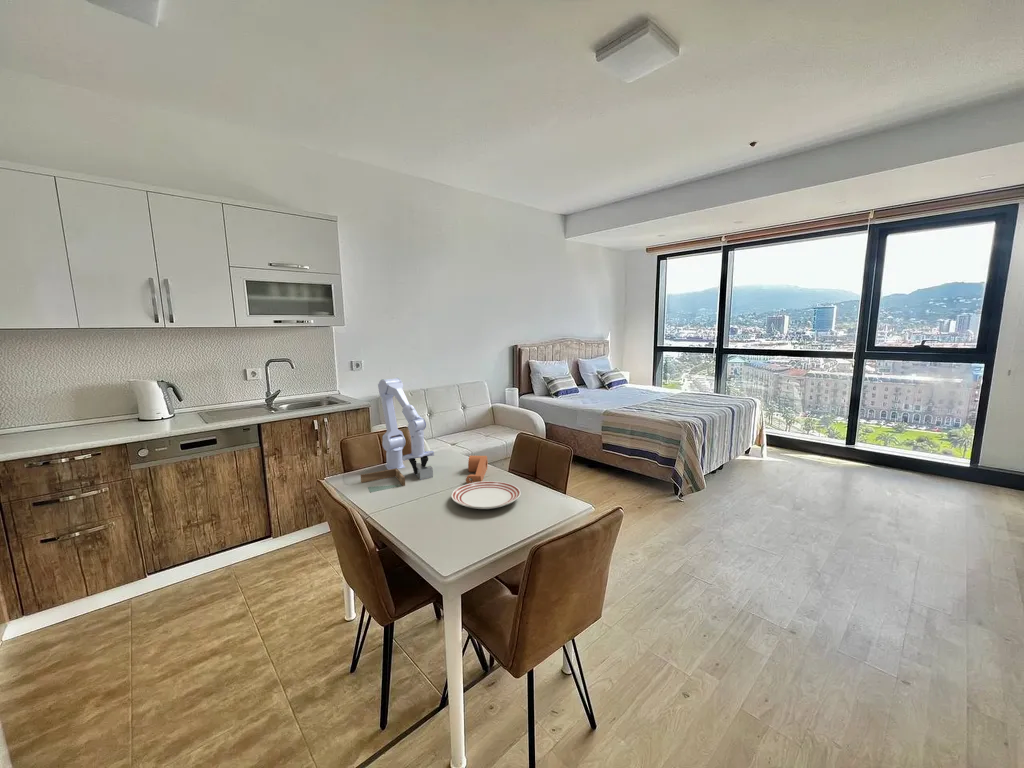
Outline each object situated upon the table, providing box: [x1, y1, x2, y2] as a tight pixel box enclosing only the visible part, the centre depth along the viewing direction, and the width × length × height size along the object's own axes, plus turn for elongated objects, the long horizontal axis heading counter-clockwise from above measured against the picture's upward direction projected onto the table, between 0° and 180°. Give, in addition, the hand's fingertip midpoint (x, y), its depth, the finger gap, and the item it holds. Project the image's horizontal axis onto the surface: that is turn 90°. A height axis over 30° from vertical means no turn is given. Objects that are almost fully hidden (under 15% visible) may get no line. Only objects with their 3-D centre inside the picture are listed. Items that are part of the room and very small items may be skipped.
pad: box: [367, 484, 402, 493], centre depth 172 cm, size 8×13×1 cm, turn 120°
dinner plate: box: [450, 480, 522, 510], centre depth 157 cm, size 28×27×3 cm
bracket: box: [414, 462, 434, 481], centre depth 184 cm, size 10×6×5 cm, turn 30°
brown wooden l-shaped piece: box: [360, 468, 406, 487], centre depth 174 cm, size 14×16×4 cm
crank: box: [465, 455, 489, 484], centre depth 183 cm, size 20×8×8 cm, turn 175°
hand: (419, 472), depth 185 cm, fingers closed on bracket, 3 cm apart
